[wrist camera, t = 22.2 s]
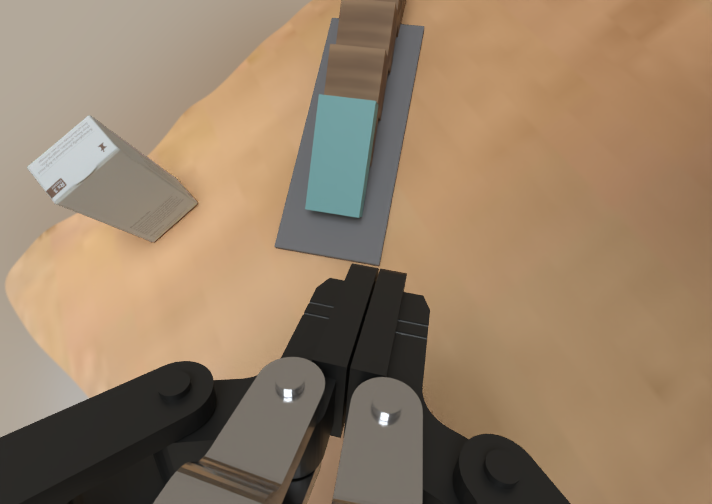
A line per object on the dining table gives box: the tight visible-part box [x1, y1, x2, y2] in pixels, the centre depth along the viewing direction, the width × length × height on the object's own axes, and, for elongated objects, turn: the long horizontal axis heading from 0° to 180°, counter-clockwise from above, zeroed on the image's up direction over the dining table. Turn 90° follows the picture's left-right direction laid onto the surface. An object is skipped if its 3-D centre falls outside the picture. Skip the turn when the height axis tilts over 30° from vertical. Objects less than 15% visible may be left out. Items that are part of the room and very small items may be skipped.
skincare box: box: [27, 115, 197, 242], centre depth 34 cm, size 6×4×12 cm
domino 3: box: [305, 94, 378, 218], centre depth 36 cm, size 2×5×10 cm
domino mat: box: [275, 18, 424, 266], centre depth 40 cm, size 26×10×1 cm, turn 169°
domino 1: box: [336, 0, 397, 120], centre depth 38 cm, size 2×5×10 cm
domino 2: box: [324, 44, 387, 166], centre depth 37 cm, size 2×5×10 cm
